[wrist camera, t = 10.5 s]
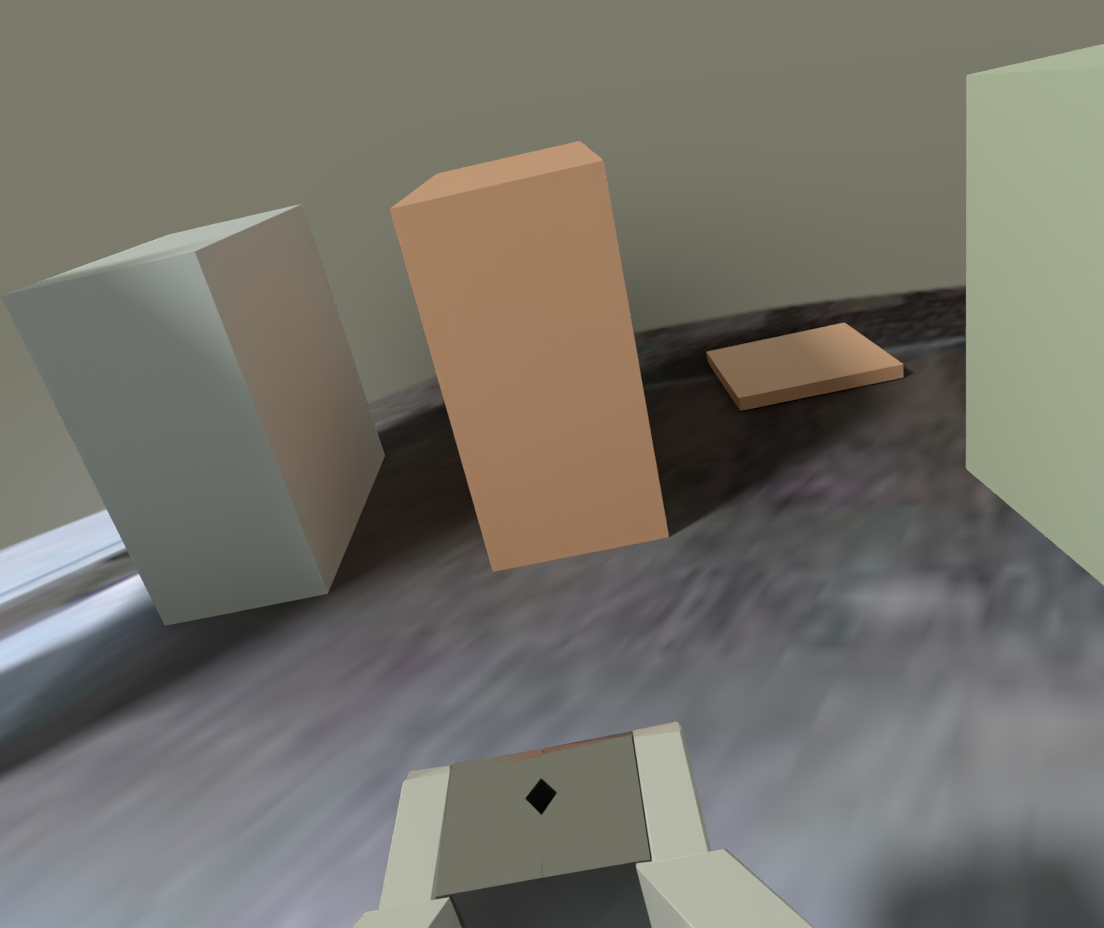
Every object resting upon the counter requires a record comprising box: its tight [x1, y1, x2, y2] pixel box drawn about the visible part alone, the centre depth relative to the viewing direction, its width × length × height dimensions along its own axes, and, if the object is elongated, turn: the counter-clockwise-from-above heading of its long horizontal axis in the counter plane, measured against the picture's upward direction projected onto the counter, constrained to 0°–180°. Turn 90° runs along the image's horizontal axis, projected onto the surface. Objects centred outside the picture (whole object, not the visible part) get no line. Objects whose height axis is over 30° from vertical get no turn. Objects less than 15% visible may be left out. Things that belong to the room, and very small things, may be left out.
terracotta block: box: [390, 141, 669, 572], centre depth 30 cm, size 6×12×12 cm, turn 1°
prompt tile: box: [706, 323, 904, 411], centre depth 38 cm, size 7×7×1 cm
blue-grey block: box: [1, 204, 385, 626], centre depth 31 cm, size 6×12×12 cm, turn 1°
